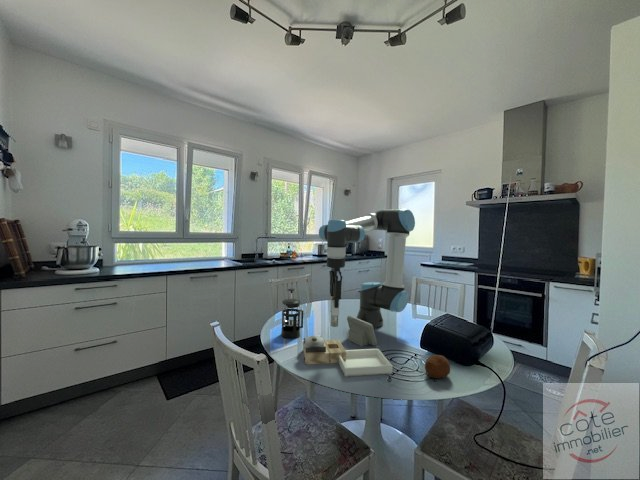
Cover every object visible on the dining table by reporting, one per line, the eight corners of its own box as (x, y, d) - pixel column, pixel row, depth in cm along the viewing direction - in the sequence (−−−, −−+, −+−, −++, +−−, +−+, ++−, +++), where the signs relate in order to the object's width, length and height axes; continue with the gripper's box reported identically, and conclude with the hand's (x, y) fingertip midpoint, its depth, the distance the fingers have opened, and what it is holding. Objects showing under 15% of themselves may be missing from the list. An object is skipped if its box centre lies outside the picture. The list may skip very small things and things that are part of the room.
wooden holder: (338, 348, 117) (339, 331, 116) (345, 362, 105) (346, 343, 105) (302, 350, 114) (303, 333, 114) (305, 364, 102) (306, 345, 102)
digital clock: (378, 346, 120) (379, 323, 120) (361, 350, 116) (362, 326, 116) (358, 333, 135) (359, 313, 134) (343, 336, 131) (344, 315, 130)
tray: (377, 355, 111) (378, 348, 111) (392, 373, 98) (392, 365, 97) (336, 357, 108) (336, 350, 108) (345, 376, 95) (345, 368, 94)
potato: (419, 376, 96) (419, 356, 96) (431, 366, 104) (431, 347, 104) (442, 386, 90) (444, 365, 90) (454, 374, 98) (454, 355, 98)
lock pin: (337, 324, 112) (337, 295, 111) (338, 326, 109) (339, 297, 108) (330, 324, 111) (330, 296, 111) (331, 326, 108) (332, 298, 108)
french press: (284, 340, 123) (285, 292, 122) (276, 333, 131) (277, 288, 130) (306, 336, 129) (307, 289, 128) (298, 329, 137) (299, 285, 136)
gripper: (323, 255, 116) (322, 307, 117) (330, 259, 100) (329, 320, 101) (340, 255, 117) (338, 307, 118) (350, 259, 101) (348, 319, 102)
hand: (334, 313), depth 110 cm, fingers closed on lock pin, 3 cm apart
